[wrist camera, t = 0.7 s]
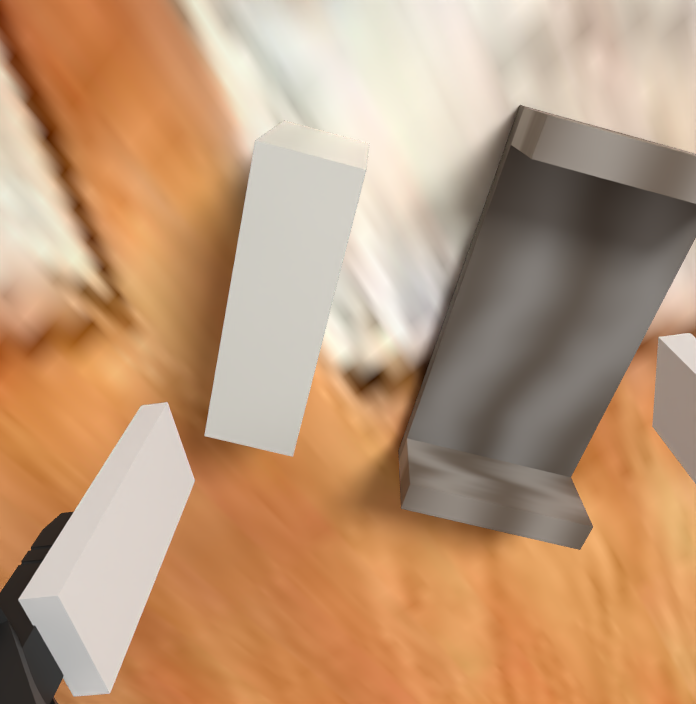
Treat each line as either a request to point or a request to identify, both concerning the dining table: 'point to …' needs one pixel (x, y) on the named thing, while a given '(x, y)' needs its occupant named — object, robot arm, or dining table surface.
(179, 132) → the dining table surface
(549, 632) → the dining table surface
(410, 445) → the cradle rack
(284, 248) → the light grey block
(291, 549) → the dining table surface
